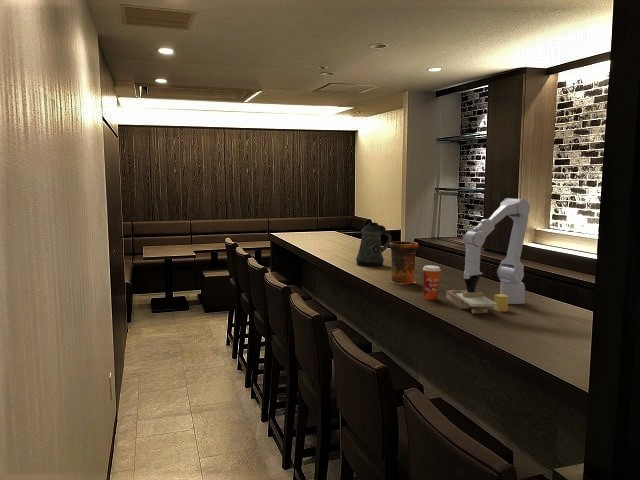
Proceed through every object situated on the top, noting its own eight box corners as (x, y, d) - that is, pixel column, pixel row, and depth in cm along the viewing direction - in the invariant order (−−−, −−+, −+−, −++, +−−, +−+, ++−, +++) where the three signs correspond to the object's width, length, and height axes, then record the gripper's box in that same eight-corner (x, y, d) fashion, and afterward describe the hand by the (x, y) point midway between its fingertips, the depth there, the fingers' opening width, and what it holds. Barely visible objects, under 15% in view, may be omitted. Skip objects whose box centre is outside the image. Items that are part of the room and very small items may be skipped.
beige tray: (468, 298, 230) (468, 290, 230) (492, 313, 206) (492, 304, 206) (446, 298, 229) (446, 290, 229) (467, 313, 205) (467, 304, 205)
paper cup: (426, 301, 224) (427, 268, 222) (418, 296, 231) (419, 265, 230) (442, 300, 226) (444, 268, 224) (434, 296, 233) (435, 265, 232)
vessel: (404, 286, 253) (405, 244, 251) (382, 281, 264) (383, 242, 262) (423, 282, 262) (424, 242, 261) (401, 278, 273) (402, 240, 271)
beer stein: (351, 263, 318) (352, 221, 315) (378, 261, 326) (380, 221, 323) (364, 267, 303) (366, 224, 300) (393, 265, 311) (394, 223, 308)
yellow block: (503, 308, 213) (503, 294, 213) (507, 311, 209) (508, 296, 209) (493, 308, 213) (494, 294, 212) (497, 311, 209) (498, 296, 208)
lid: (478, 295, 219) (479, 289, 219) (497, 306, 201) (497, 299, 201) (455, 295, 218) (455, 289, 218) (472, 306, 200) (472, 299, 200)
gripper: (477, 264, 205) (475, 298, 207) (487, 259, 217) (485, 292, 219) (459, 262, 209) (457, 295, 210) (470, 257, 221) (468, 289, 222)
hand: (470, 293), depth 215 cm, fingers closed
